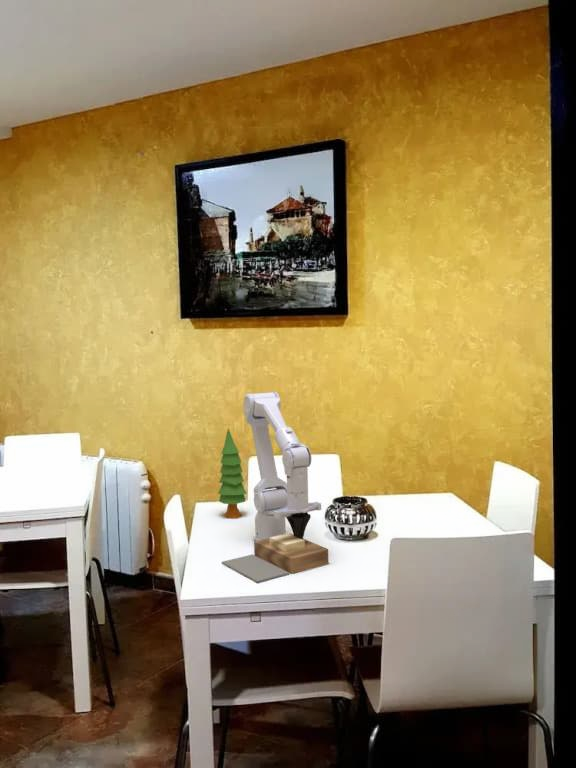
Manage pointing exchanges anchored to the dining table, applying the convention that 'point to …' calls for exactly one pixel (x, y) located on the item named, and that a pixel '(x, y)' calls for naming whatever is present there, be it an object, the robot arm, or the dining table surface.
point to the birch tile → (287, 542)
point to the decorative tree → (231, 478)
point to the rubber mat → (255, 568)
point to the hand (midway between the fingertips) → (298, 539)
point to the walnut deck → (292, 556)
